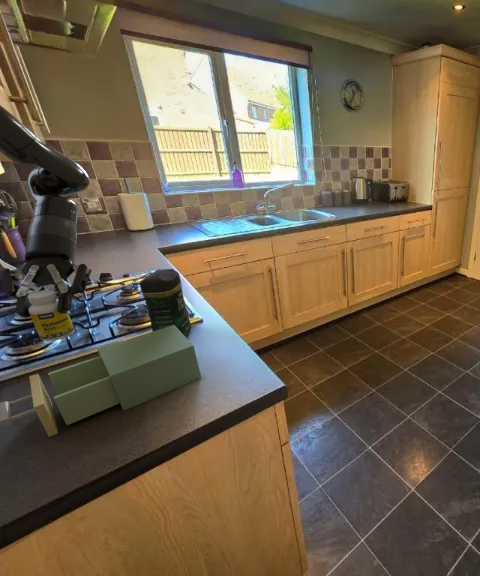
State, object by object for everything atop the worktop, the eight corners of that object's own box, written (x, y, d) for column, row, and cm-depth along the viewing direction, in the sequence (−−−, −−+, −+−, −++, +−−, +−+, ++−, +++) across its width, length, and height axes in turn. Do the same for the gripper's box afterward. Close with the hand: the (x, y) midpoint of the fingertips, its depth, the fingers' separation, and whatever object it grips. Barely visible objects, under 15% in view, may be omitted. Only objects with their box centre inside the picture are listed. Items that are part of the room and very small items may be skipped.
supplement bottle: (45, 345, 67) (26, 302, 63) (37, 336, 69) (18, 294, 65) (79, 333, 71) (63, 292, 67) (70, 326, 73) (54, 286, 69)
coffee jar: (184, 343, 87) (168, 279, 79) (151, 346, 85) (131, 280, 78) (196, 325, 95) (182, 265, 88) (166, 327, 94) (149, 266, 86)
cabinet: (123, 411, 65) (110, 376, 61) (109, 381, 73) (97, 348, 69) (201, 377, 75) (193, 345, 71) (181, 354, 83) (174, 324, 79)
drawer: (10, 453, 55) (-8, 423, 52) (8, 416, 62) (-8, 388, 59) (139, 398, 67) (130, 371, 64) (125, 373, 74) (116, 347, 71)
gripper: (-5, 233, 66) (-20, 313, 60) (84, 230, 70) (77, 304, 65) (21, 251, 72) (10, 324, 67) (101, 247, 77) (96, 315, 72)
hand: (43, 314), depth 66 cm, fingers closed on supplement bottle, 5 cm apart
